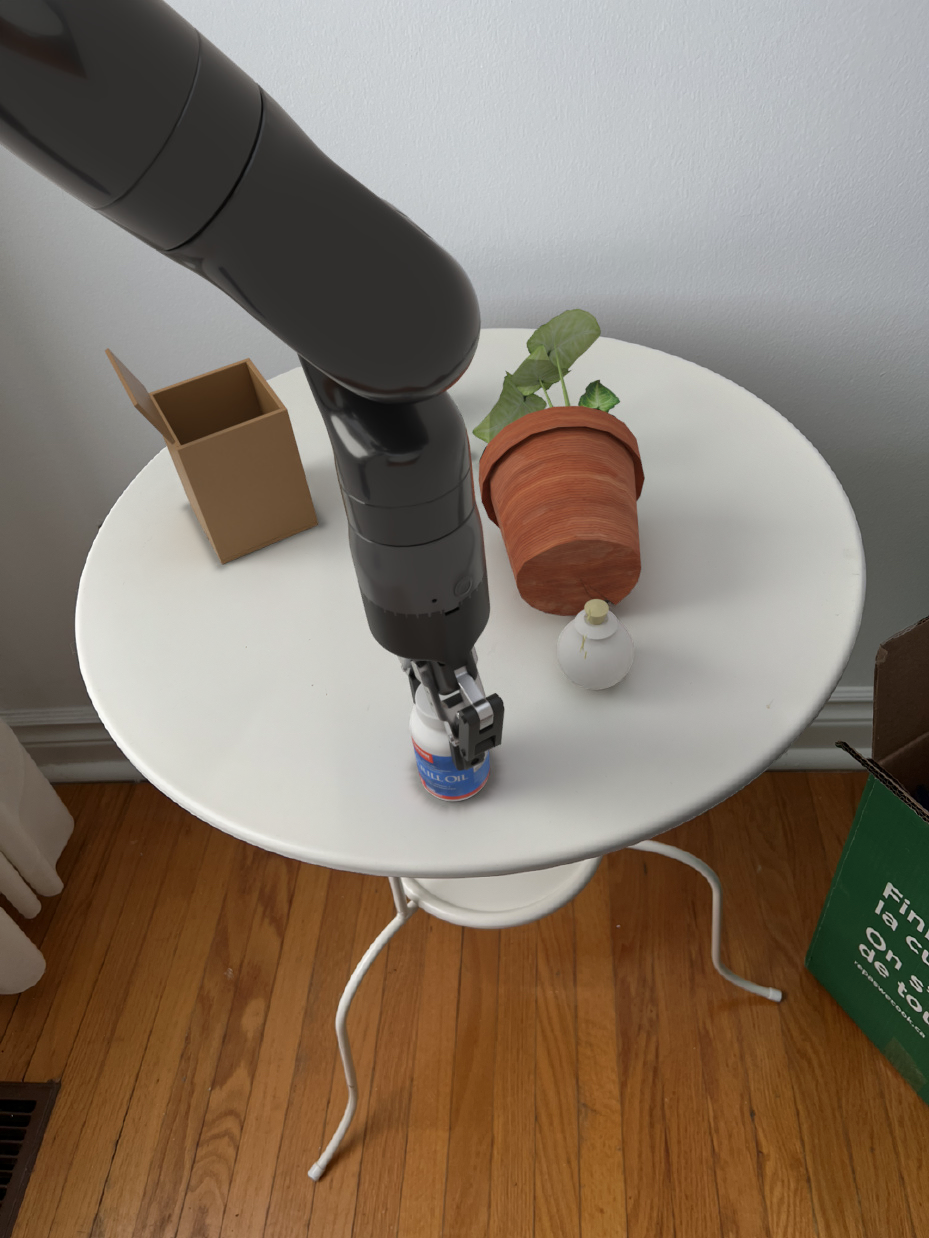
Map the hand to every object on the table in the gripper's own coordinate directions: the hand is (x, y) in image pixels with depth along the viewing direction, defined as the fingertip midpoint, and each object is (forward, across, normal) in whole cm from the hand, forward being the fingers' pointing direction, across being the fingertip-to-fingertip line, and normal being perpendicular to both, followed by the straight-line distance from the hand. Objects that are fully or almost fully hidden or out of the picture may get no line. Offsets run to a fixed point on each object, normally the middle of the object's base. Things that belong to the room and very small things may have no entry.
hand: (448, 731), depth 65 cm
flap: (-11, -37, -9) cm, 40 cm away
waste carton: (+5, -37, -3) cm, 38 cm away
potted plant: (+6, -22, +23) cm, 32 cm away
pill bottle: (+6, 0, 0) cm, 6 cm away
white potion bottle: (+6, -2, +14) cm, 15 cm away
